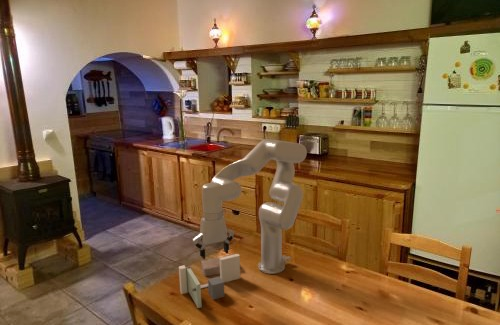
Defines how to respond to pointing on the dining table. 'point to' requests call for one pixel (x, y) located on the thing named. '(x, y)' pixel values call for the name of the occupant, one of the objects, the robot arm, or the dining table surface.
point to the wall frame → (227, 271)
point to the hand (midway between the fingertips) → (214, 254)
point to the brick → (211, 266)
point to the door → (193, 287)
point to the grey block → (216, 287)
